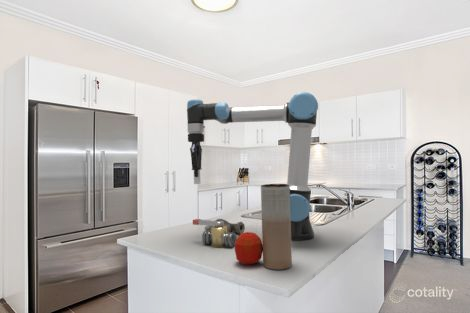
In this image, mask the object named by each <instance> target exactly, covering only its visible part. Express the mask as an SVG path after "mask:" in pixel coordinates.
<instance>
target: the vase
mask: <svg viewBox="0 0 470 313" xmlns="http://www.w3.org/2000/svg"><path fill="white" fill-rule="evenodd" d="M260 202H261V203H260V205H261V206H260V207H261V233H262V234H261V237H262V239H261V240H262V245H263V252H262V262H263V263H262V264H263V266H264V268H266V269H269V270H272V271H282V270H288V269H290V268H291V267H292V265H293V263H292V262H293V256H292V240H291V219H290V187H289V185H288V184H287V183H286V184H285V183H270V184H269V183H267V184H261V185H260Z"/></svg>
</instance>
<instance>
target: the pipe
mask: <svg viewBox="0 0 470 313" xmlns="http://www.w3.org/2000/svg"><path fill="white" fill-rule="evenodd" d="M214 221H223V222H224V226H227V232H231V233H235V234H238V235H240V234H242V233H244V232H245V230H246V228H245V224H244V222H243V221H239V222H237V223H231V222H228V221H227V220H226V219H223V218H217V219H216V220H214ZM211 227H212V226H207V225H205V226H204V231H205V230H211Z"/></svg>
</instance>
